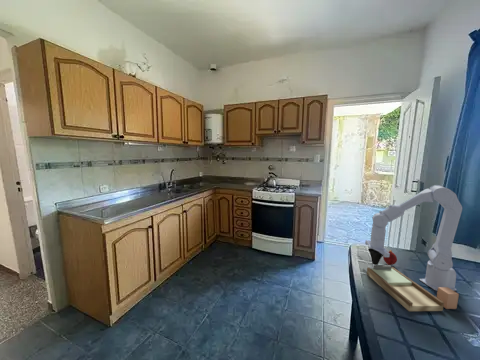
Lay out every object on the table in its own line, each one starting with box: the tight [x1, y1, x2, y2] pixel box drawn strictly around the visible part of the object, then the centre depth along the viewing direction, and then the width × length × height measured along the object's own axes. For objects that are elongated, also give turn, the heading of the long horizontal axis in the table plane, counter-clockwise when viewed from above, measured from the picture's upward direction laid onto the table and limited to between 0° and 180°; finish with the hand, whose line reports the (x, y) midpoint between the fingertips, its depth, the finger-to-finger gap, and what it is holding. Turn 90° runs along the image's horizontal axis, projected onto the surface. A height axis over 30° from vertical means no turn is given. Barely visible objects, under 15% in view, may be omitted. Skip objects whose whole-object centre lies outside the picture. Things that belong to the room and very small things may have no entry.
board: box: [366, 266, 444, 312], centre depth 89 cm, size 13×24×3 cm, turn 3°
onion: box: [382, 249, 398, 266], centre depth 109 cm, size 6×6×8 cm
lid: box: [371, 264, 412, 285], centre depth 94 cm, size 10×11×3 cm
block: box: [436, 287, 460, 310], centre depth 80 cm, size 4×4×6 cm
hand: (374, 264), depth 104 cm, fingers closed
